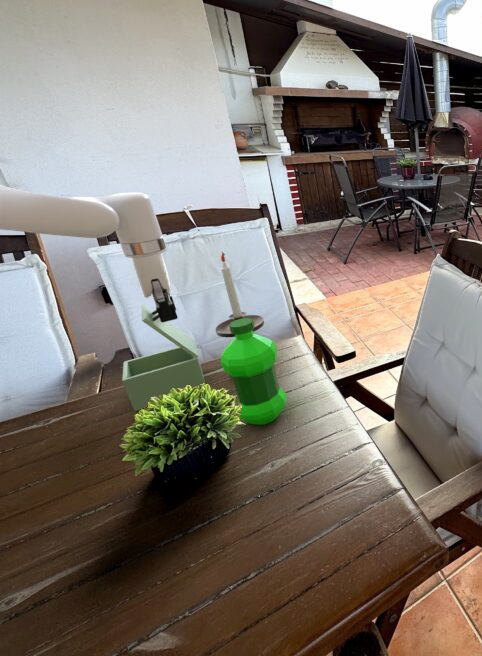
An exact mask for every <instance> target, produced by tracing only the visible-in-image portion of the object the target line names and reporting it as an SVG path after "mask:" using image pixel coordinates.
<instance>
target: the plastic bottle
mask: <svg viewBox="0 0 482 656" xmlns="http://www.w3.org/2000/svg"><path fill="white" fill-rule="evenodd" d="M229 327H230V331H231V333H232V334H234V335H235V337H234V339H233V340H232V341H230V343H229V344H228V345H227V346H226V347H225V348H224V350H223V352H222V354H221V356H220V362H219V363H220V365H221V368H222V370H223V371H224V373H226V374H228V375H229V376H231V377H232V379H233V383H234V387H235V390H236V395H237V397H238V404H237V406H238V405H239V404H241V405H242V410H241V415H240V417H241V418H240V417H239V418H240V419H241V420H242V421H244V422H246V423H247V424H250V425H256V426H261V425H266V424H269V423H271V422H273V421H274V420H276V419H277V418H278V416H279V415H280V414H281V413H282V412H283V411H284V410H285V407H286V402H287V394H286V392H285V391H284V390H283V388H281V387H280V386H279V381H278V376H277V373H276V368H275V363H276V361H277V357H278V349H277V345H276V343H275V342H274V341H273V340H272V339H269V338H267V337H265V336H262V335H259V334H256V333H254V332H253V331H252V330H253V329H254V323H253V319H250V318H242V319H238V320H235V321H233V322H231V323H230V325H229Z"/></svg>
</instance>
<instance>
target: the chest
mask: <svg viewBox="0 0 482 656" xmlns="http://www.w3.org/2000/svg"><path fill="white" fill-rule="evenodd" d="M202 368H203V367H202V364H201V362H200V359H199V356H198V357H197V358H194V357H193V356H191V355H190V354H188V353H187V352H186V351H184V350H183V349H181V348H180V347H179V346H177V347H172V348H170V349H166V350H162V351H159V352H155V353H151V354H147V355H143V356H140V357H137V358H133V359H129V360H125V361H123V363H122V380H121V381H122V384H123V387H124V388H125V391H126V395H127V396H128V399H129V401H130V404H131V406H132V409H133V411H134V412H137V411H140V409H141V408H144V407H146V406H147V405H148V402H149V400H150V398H151V397H154V396H159V395H161V394H168V393H169V392H170V390H171V389H172V388H183V387H185V386H186V385H191V386H198V385H200V384H203V383H205V384H206V380H205V376H204V371H203V369H202ZM144 409H145V408H144ZM141 410H142V409H141Z"/></svg>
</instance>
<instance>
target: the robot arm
mask: <svg viewBox="0 0 482 656" xmlns="http://www.w3.org/2000/svg"><path fill="white" fill-rule="evenodd" d="M0 230H2V231H11V232H12V231H14V232H23V233H32V234H41V235H50V236H60V237H61V236H62V237H74V238H84V239H85V238H87V239H99V238H104V237H108V236H109V235H112V234H113V233H114V232H115V234H116V237H117V238H118V242H119V245H120V246H121V250H122V252H123V255H124V257H125V258H129V259H132V264H133V267H134V270H135V274H136V276H137V280H138V282H139V284H140V287H141V291H142V293H143V297H144V298H146V299H149V297H152V298H153V301H154V303H155V306H156V307H155V310H157V312H158V315H159V318H160V321H161V322H167V321H169V322H172V321H174V320H178V318H179V316H178V314H177V308H176V305H175V302H174V299H173V296H172V295H171V294H170V293H171V291H172V289H171V282H170V277H169V272H168V269H167V265H166V263H165V260H164V256H163V253H164V252H166V251H167V250H168V248H167V245H166V242H165V238H164V235H163V233H162V230H161V227H160V224H159V221H158V217H157V215H156V211H155V209H154V206H153V203H152V200H151V198H150V196H149V195H148V194H146V193H144V192H134V191H133V192H121V193H115V194H111V195H104V196H103V195H102V196H72V197H65V196H58V195H52V194H45V193H40V192H39V193H38V192H33V191H27V190H23V189H18V188H14V187H8V186H5V185H2V184H0ZM171 301H172V304H171Z"/></svg>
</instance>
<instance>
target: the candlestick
mask: <svg viewBox="0 0 482 656" xmlns="http://www.w3.org/2000/svg"><path fill="white" fill-rule="evenodd" d="M225 255H226V254H225V253H224V251H221V256H220V260H221V262H222V267H221V268H220V270H221V274H222V278H223V281H224V282H223V283H224V286H225V289H226V294H227V297H228V301H229V304H230V308H231V312H232V313H231V314H230V315H229V316H228V318H229V319H227V320H224V321H223V322H221V323H219V324H218V325H217V326H216V327H215V334H216V335H217V336H218V337H220V338H236V337H235V335H234V334H232V333H231V331H230V327H229V325H230V323H231V322H233V321H235V320H238V319H242V318H250V319H253V323H254V329H253V330H252V331H253V333H254V332H257V331H258V330H260V329H261V328H262V327H263V326H264V325H265V321H264V317H263V316H261V315H256V314H247V312H245V311H242V309H241V305H240V302H239V298H238V293H237V291H236V286H235V282H234V278H233V274H232V270H231V267H230V266H228V265H227V262H226V257H225Z"/></svg>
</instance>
